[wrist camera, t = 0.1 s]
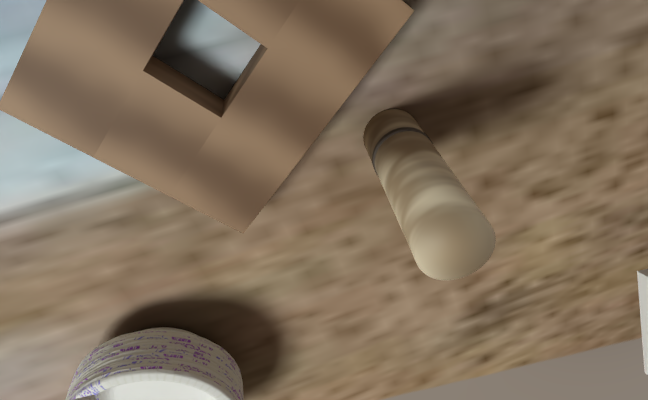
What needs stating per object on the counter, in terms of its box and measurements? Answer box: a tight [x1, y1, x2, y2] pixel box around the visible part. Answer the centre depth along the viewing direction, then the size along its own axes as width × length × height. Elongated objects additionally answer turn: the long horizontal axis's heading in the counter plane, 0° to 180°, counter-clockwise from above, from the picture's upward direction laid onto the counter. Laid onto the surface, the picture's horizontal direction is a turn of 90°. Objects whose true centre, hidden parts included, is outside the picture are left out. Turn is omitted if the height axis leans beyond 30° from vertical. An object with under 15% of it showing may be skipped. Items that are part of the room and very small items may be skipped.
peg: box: [363, 109, 496, 280], centre depth 33 cm, size 4×4×15 cm
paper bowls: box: [66, 327, 243, 400], centre depth 46 cm, size 15×15×8 cm
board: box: [0, 0, 414, 233], centre depth 33 cm, size 20×18×4 cm
